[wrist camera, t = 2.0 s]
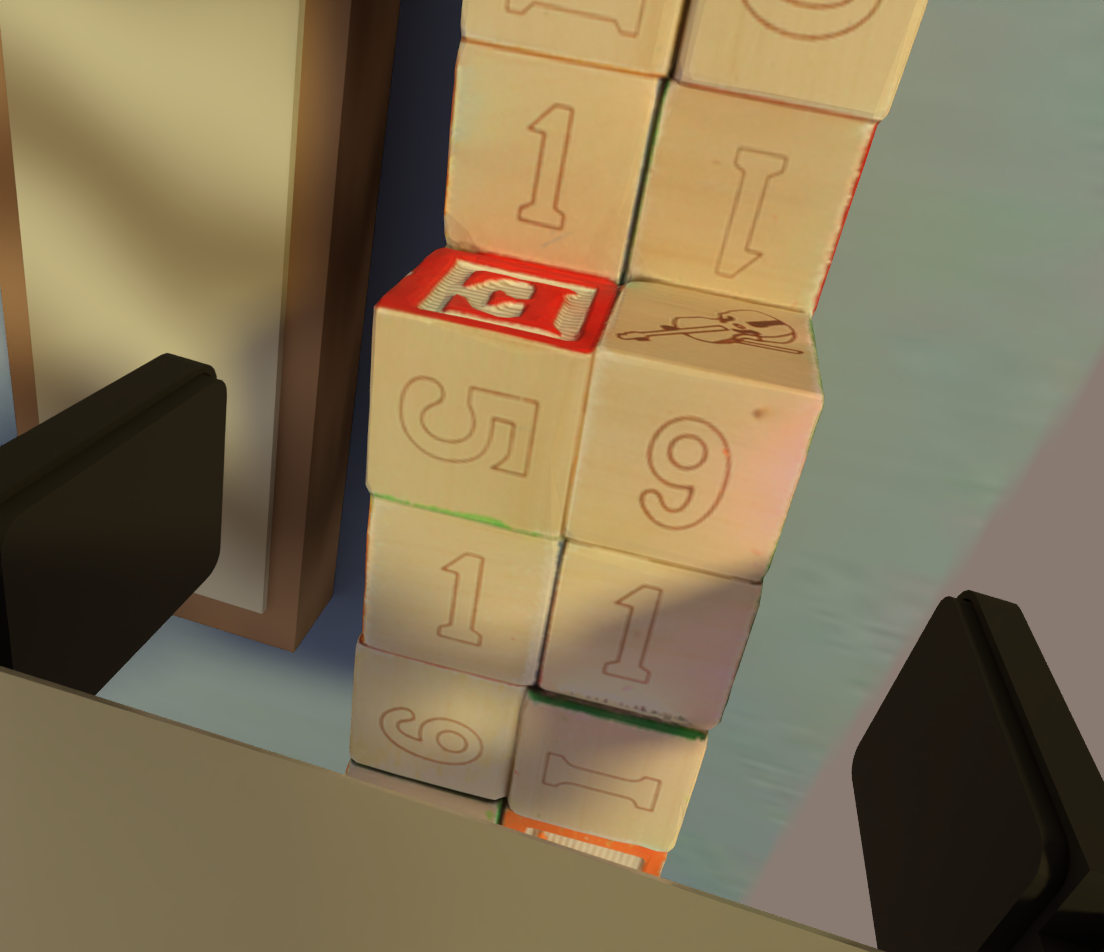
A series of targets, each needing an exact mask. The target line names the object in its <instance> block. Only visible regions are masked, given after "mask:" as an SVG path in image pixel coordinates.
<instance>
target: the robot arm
mask: <svg viewBox="0 0 1104 952" xmlns="http://www.w3.org/2000/svg"><path fill="white" fill-rule="evenodd" d="M226 407H227V387H226V384H225V383H224V381H223V380H220V379H217V375H216V372H215V369H214V368H213V367H212V366H211V365H208V364H204V363H201V362H198V361H194V360H191V359H188V358H184V357H181V356H177V355H174V354H170V353H165V354H162V355H160V356H158V357H156V358H154V359H153V360H151V361H149V362H147V363H146V364H144V365H142V366H140V367H139V368H137V369H135V370H133V371H132V372H130V373H128V374H126V375H125V376H123V377H121V378H119V379H118V380H116V381H114V382H112V383H111V384H109V385H107V386H105V387H104V388H102V389H100V390H98V391H97V392H95V393H93V394H91V395H90V396H88V397H86V398H84V399H83V400H81V401H79V402H77V403H76V404H74V405H72V406H70V407H69V408H67V409H65V410H63V411H62V412H60V413H58V414H56V415H55V416H53V417H51V418H49V419H48V420H46V421H44V422H42V423H41V424H39V425H37V426H35V427H34V428H32V429H30V430H28V431H27V432H25V433H23V434H21V435H20V436H18V437H16V438H14V439H13V440H11V441H9V442H7V443H6V444H4V445H2V446H0V952H1104V781H1103V779H1102V777H1101V775H1100V773H1099V771H1098V769H1097V767H1096V765H1095V763H1094V761H1093V758H1092V756H1091V754H1090V752H1089V750H1088V748H1087V746H1086V744H1085V742H1084V740H1083V738H1082V736H1081V734H1080V731H1079V729H1078V727H1077V725H1076V723H1075V721H1074V719H1073V717H1072V715H1071V713H1070V711H1069V709H1068V707H1067V705H1066V702H1065V701H1064V698H1063V697H1062V694H1061V692H1060V690H1059V688H1058V686H1057V684H1056V682H1055V680H1054V678H1053V675H1052V673H1051V671H1050V669H1049V667H1048V665H1047V663H1046V661H1045V659H1044V657H1043V655H1042V653H1041V651H1040V648H1039V646H1038V644H1037V642H1036V640H1035V638H1034V636H1033V634H1032V632H1031V630H1030V628H1029V626H1028V624H1027V621H1026V620H1025V617H1024V615H1023V613H1022V611H1021V609H1020V608H1019V607H1018V606H1017V604H1014V603H1011V602H1008V601H1004V600H1001V599H998V598H994V597H991V596H988V595H984V594H980V593H977V592H974V591H971V590H967V591H964V592H962V593H961V594H960V595H959V596H958V597H957V598H953V597H950V596H948V597H945V598H944V599H943V600H941V602H940V603H939V605H938V606H937V608H936V610H935V611H934V613H933V615H932V617H931V618H930V620H929V622H928V624H927V625H926V627H925V629H924V631H923V632H922V634H921V636H920V638H919V640H918V641H917V643H916V645H915V647H914V648H913V650H912V652H911V654H910V655H909V657H908V659H907V661H906V662H905V664H904V666H903V668H902V669H901V671H900V673H899V675H898V677H897V679H896V680H895V682H894V684H893V685H892V687H891V689H890V691H889V692H888V694H887V696H886V698H885V699H884V701H883V703H882V705H881V707H880V708H879V710H878V712H877V714H876V715H875V717H874V719H873V721H872V722H871V724H870V726H869V728H868V729H867V731H866V733H865V735H864V736H863V738H862V740H861V742H860V743H859V745H858V747H857V749H856V752H855V755H854V759H853V764H852V781H853V788H854V794H855V801H856V808H857V815H858V821H859V828H860V835H861V841H862V848H863V855H864V861H865V868H866V874H867V881H868V888H869V894H870V901H871V908H872V915H873V921H874V928H875V935H876V941H877V948H878V949H876V948H873V947H870V946H867V945H864V944H861V943H858V942H855V941H852V940H849V939H846V938H843V937H840V936H837V935H834V934H831V933H828V932H825V931H822V930H819V929H816V928H813V927H810V926H807V925H804V924H801V923H798V922H795V921H792V920H789V919H786V918H783V917H779V916H776V915H774V914H770V913H767V912H764V911H761V910H758V909H755V908H752V907H749V906H746V905H743V904H740V903H737V902H734V901H731V900H728V899H725V898H722V897H719V896H716V895H713V894H710V893H707V892H704V891H701V890H698V889H694V888H691V887H688V886H685V885H682V884H679V883H676V882H673V881H670V880H667V879H664V878H661V877H658V876H655V875H652V874H649V873H646V872H643V871H640V870H637V869H634V868H631V867H628V866H625V865H622V864H618V863H615V862H612V861H609V860H606V859H603V858H600V857H597V856H594V855H591V854H588V853H585V852H582V851H579V850H576V849H573V848H570V847H566V846H563V845H560V844H557V843H554V842H551V841H548V840H545V839H542V838H539V837H536V836H532V835H529V834H526V833H523V832H520V831H517V830H514V829H511V828H508V827H505V826H502V825H499V824H495V823H492V822H489V821H486V820H483V819H480V818H477V817H474V816H471V815H468V814H465V813H461V812H458V811H455V810H452V809H449V808H446V807H443V806H440V805H437V804H434V803H430V802H427V801H424V800H421V799H418V798H415V797H412V796H409V795H406V794H402V793H399V792H396V791H393V790H390V789H387V788H384V787H381V786H378V785H374V784H371V783H368V782H365V781H362V780H359V779H356V778H353V777H350V776H347V775H343V774H340V773H337V772H334V771H331V770H328V769H325V768H322V767H319V766H315V765H312V764H309V763H306V762H303V761H300V760H296V759H293V758H290V757H287V756H284V755H281V754H278V753H274V752H271V751H268V750H265V749H262V748H259V747H255V746H252V745H249V744H246V743H243V742H240V741H236V740H233V739H230V738H227V737H224V736H221V735H218V734H214V733H211V732H208V731H205V730H202V729H199V728H195V727H192V726H189V725H186V724H183V723H180V722H176V721H173V720H170V719H167V718H164V717H161V716H157V715H154V714H151V713H148V712H145V711H142V710H139V709H135V708H132V707H129V706H126V705H123V704H120V703H116V702H113V701H110V700H107V699H104V698H101V697H97V696H95V695H96V694H97V693H98V692H99V691H100V690H101V689H102V688H103V687H104V686H105V685H106V683H107V682H108V681H109V680H110V679H111V678H112V677H113V676H114V675H115V674H116V673H117V672H118V671H119V670H120V669H121V668H122V667H123V666H124V665H125V664H126V663H127V662H128V661H129V660H130V658H131V657H132V656H133V655H134V654H135V653H136V652H137V651H138V650H139V649H140V648H141V647H142V646H143V645H144V644H145V643H146V642H147V641H148V640H149V639H150V638H151V637H152V636H153V635H154V633H155V632H156V631H157V630H158V629H159V628H160V627H161V626H162V625H163V624H164V623H165V622H166V621H167V620H168V619H169V618H170V617H171V616H172V615H173V614H174V613H175V612H176V611H177V610H178V608H179V607H180V606H181V605H182V604H183V603H184V602H185V601H186V600H187V599H188V598H189V597H190V596H191V595H192V594H193V593H194V592H195V591H196V590H197V589H198V588H199V587H200V586H201V585H202V584H203V582H204V581H205V580H206V579H207V578H208V577H209V576H210V575H211V573H212V572H213V570H214V568H215V566H216V564H217V562H218V558H219V555H220V548H221V525H222V501H223V478H224V454H225V431H226Z"/></svg>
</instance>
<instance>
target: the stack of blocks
mask: <svg viewBox="0 0 1104 952" xmlns="http://www.w3.org/2000/svg"><path fill="white" fill-rule="evenodd" d="M927 2H928V0H463V3H462V13H461V34H462V38H461V42H460V46H459V49H458V54H457V60H456V65H455V82H454V90H453V99H452V111H451V123H450V137H449V154H448V168H447V181H446V193H445V206H444V230H445V237H446V242H447V245H446V246H445V247H444V248H440V249H436V250H435V251H433V252H432V253H431V254H430V255H428V256H427V257H425V259H424V260H423V261H422V263H420V264H419V265H418V266H417V267H416V268H415V269H414V270H413V271H411V272H410V273H409V274H407V275H406V276H405V277H404V278H403V279H402V280H401V281H400V282H398V283H397V284H396V285H395V286H394V287H393V288H392V289H391V290H389V291H388V292H387V293H386V294H385V295H384V296H382V298H381V299H380V300H379V301H378V302H377V303H376V305H375V306H374V314H373V329H372V355H371V378H370V408H369V425H368V443H367V464H366V487H367V489H368V491H369V493H370V495H371V496H370V508H369V518H368V528H367V543H366V563H365V590H364V602H363V623H362V633H361V634H360V636H359V638H358V641H357V645H356V651H355V666H354V682H353V700H352V718H351V734H350V757H351V759H350V761H349V764H348V766H347V769H346V775H347V776H350V777H353V778H356V779H359V780H362V781H365V782H368V783H371V784H374V785H378V786H381V787H384V788H387V789H390V790H393V791H396V792H399V793H402V794H406V795H409V796H412V797H415V798H418V799H421V800H424V801H427V802H430V803H434V804H437V805H440V806H443V807H446V808H449V809H452V810H455V811H458V812H461V813H465V814H468V815H471V816H474V817H477V818H480V819H483V820H486V821H489V822H492V823H495V824H499V825H502V826H505V827H508V828H511V829H514V830H517V831H520V832H523V833H526V834H529V835H532V836H536V837H539V838H542V839H545V840H548V841H551V842H554V843H557V844H560V845H563V846H566V847H570V848H573V849H576V850H579V851H582V852H585V853H588V854H591V855H594V856H597V857H600V858H603V859H606V860H609V861H612V862H615V863H618V864H622V865H625V866H628V867H631V868H634V869H637V870H640V871H643V872H646V873H649V874H652V875H655V876H658V877H660V874H661V871H662V869H663V866H664V863H665V860H666V857H667V852H668V851H670V850H671V849H672V848H674V846H675V843H676V840H677V837H678V834H679V831H680V828H681V825H682V822H683V819H684V815H685V812H686V809H687V806H688V803H689V800H690V797H691V794H692V791H693V788H694V785H695V782H696V779H697V776H698V772H699V769H700V766H701V763H702V760H703V757H704V753H705V750H706V746H707V738H708V729H711V728H713V727H715V726H716V725H717V724H719V723H720V722H721V719H722V716H723V712H724V710H725V707H726V705H727V703H728V699H729V696H730V692H731V688H732V685H733V682H734V679H735V676H736V674H737V671H738V668H739V665H740V662H741V659H742V656H743V653H744V650H745V647H746V644H747V641H748V638H749V635H750V632H751V629H752V626H753V623H754V620H755V617H756V614H757V611H758V608H759V605H760V599H761V594H762V586H763V578H764V576H765V575H766V573H767V572H768V570H769V568H770V565H771V562H772V559H773V556H774V553H775V550H776V547H777V544H778V541H779V538H780V535H781V532H782V529H783V526H784V523H785V520H786V517H787V513H788V510H789V507H790V504H791V502H792V499H793V496H794V493H795V490H796V487H797V484H798V481H799V478H800V475H801V472H802V469H803V466H804V463H805V460H806V457H807V454H808V451H809V447H810V444H811V441H812V438H813V435H814V432H815V429H816V426H817V423H818V420H819V418H820V415H821V412H822V410H823V407H824V393H823V388H822V381H821V375H820V371H819V365H818V358H817V351H816V344H815V337H814V331H813V326H812V321H811V318H812V316H813V314H814V312H815V310H816V308H817V304H818V301H819V298H820V295H821V292H822V289H823V286H824V283H825V280H826V277H827V274H828V271H829V268H830V265H831V262H832V259H833V256H834V253H835V250H836V247H837V244H838V241H839V238H840V235H841V232H842V229H843V226H844V223H845V220H846V217H847V214H848V211H849V208H850V205H851V202H852V199H853V196H854V193H855V191H856V188H857V185H858V182H859V179H860V176H861V173H862V170H863V167H864V164H865V161H866V158H867V155H868V152H869V149H870V146H871V143H872V140H873V137H874V134H875V131H876V128H877V125H878V124H879V123H880V122H881V121H882V120H883V119H884V118H885V117H886V116H887V115H888V113H889V111H890V108H891V105H892V102H893V99H894V96H895V94H896V91H897V88H898V85H899V82H900V79H901V77H902V74H903V71H904V68H905V65H906V62H907V60H908V57H909V54H910V51H911V48H912V45H913V43H914V40H915V37H916V34H917V31H918V28H919V26H920V23H921V20H922V17H923V14H924V11H925V8H926V5H927Z"/></svg>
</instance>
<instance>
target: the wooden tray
mask: <svg viewBox="0 0 1104 952" xmlns="http://www.w3.org/2000/svg"><path fill="white" fill-rule="evenodd" d="M399 7H400V0H0V286H1V295H2V304H3V312H4V321H5V330H6V339H7V347H8V356H9V365H10V374H11V382H12V391H13V400H14V409H15V417H16V426H17V435H18V436H20V435H21V434H23V433H25V432H27V431H28V430H30V429H32V428H34V427H35V426H37V425H39V424H41V423H42V422H44V421H46V420H48V419H49V418H51V417H53V416H55V415H56V414H58V413H60V412H62V411H63V410H65V409H67V408H69V407H70V406H72V405H74V404H76V403H77V402H79V401H81V400H83V399H84V398H86V397H88V396H90V395H91V394H93V393H95V392H97V391H98V390H100V389H102V388H104V387H105V386H107V385H109V384H111V383H112V382H114V381H116V380H118V379H119V378H121V377H123V376H125V375H126V374H128V373H130V372H132V371H133V370H135V369H137V368H139V367H140V366H142V365H144V364H146V363H147V362H149V361H151V360H153V359H154V358H156V357H158V356H160V355H162V354H165V353H170V354H174V355H177V356H181V357H184V358H188V359H191V360H194V361H198V362H201V363H204V364H208V365H211V366H212V367H213V368H214V369H215V372H216V375H217V379H220V380H223V381H224V383H225V384H226V387H227V407H226V431H225V454H224V478H223V501H222V525H221V548H220V555H219V558H218V562H217V564H216V566H215V568H214V570H213V572H212V573H211V575H210V576H209V577H208V578H207V579H206V580H205V581H204V582H203V584H202V585H201V586H200V587H199V588H198V589H197V590H196V591H195V592H194V593H193V594H192V595H191V596H190V597H189V598H188V599H187V600H186V601H185V602H184V603H183V604H182V605H181V606H180V607H179V608H178V610H177V611H176V612H175V613H174V614H173V615H175V616H178V617H181V618H184V619H188V620H191V621H194V622H197V623H200V624H204V625H207V626H210V627H213V628H216V629H220V630H223V631H226V632H229V633H232V634H236V635H239V636H242V637H245V638H248V639H252V640H255V641H258V642H261V643H264V644H268V645H271V646H274V647H277V648H280V649H284V650H287V651H290V652H293V653H294V652H295V650H296V649H297V647H298V646H299V644H300V643H301V641H302V640H303V639H304V637H305V636H306V634H307V633H308V631H309V630H310V628H311V627H312V625H313V624H314V623H315V621H316V620H317V618H318V617H319V615H320V614H321V612H322V611H323V609H324V608H325V606H326V605H327V604H328V602H329V601H330V599H331V598H332V594H333V585H334V577H335V568H336V559H337V550H338V542H339V533H340V524H341V515H342V507H343V498H344V489H345V480H346V471H347V463H348V454H349V445H350V436H351V428H352V419H353V410H354V401H355V393H356V384H357V375H358V366H359V358H360V349H361V340H362V331H363V323H364V314H365V305H366V296H367V288H368V279H369V270H370V261H371V253H372V244H373V235H374V226H375V218H376V209H377V200H378V191H379V183H380V174H381V165H382V156H383V148H384V139H385V130H386V121H387V113H388V104H389V95H390V86H391V77H392V69H393V60H394V51H395V42H396V34H397V25H398V16H399Z"/></svg>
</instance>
